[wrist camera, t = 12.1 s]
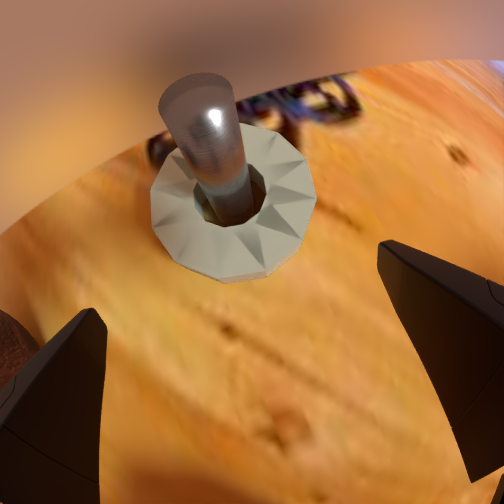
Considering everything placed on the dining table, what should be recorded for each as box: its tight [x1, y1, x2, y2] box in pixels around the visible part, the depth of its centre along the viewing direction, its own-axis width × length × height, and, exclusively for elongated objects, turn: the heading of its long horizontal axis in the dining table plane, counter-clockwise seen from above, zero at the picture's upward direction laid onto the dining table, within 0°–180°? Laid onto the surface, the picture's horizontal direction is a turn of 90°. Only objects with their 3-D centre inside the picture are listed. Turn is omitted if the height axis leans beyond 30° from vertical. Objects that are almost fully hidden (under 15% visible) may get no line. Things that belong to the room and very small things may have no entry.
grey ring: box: [150, 123, 317, 284], centre depth 22 cm, size 12×12×3 cm
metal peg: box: [158, 73, 255, 226], centre depth 17 cm, size 3×3×13 cm
